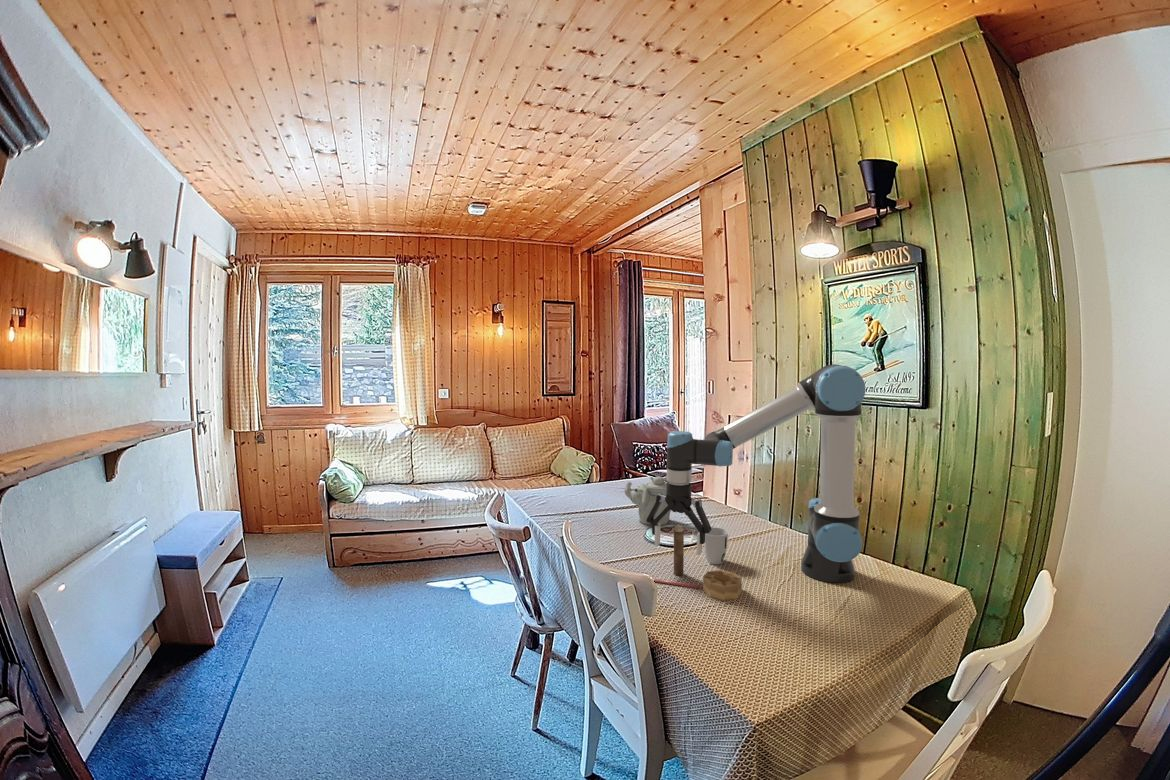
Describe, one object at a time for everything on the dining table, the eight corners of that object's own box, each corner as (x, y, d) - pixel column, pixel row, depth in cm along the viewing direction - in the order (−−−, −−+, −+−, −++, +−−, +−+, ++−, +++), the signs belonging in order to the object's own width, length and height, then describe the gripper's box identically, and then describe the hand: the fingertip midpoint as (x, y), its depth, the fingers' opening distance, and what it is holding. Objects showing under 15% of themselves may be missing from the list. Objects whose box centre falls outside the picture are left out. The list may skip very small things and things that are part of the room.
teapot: (623, 519, 216) (622, 474, 215) (649, 512, 226) (649, 468, 224) (651, 530, 203) (651, 482, 202) (678, 522, 212) (678, 476, 211)
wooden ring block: (743, 588, 155) (744, 574, 155) (735, 602, 147) (735, 588, 146) (710, 580, 160) (710, 568, 160) (699, 594, 152) (699, 581, 151)
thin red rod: (700, 587, 156) (700, 585, 156) (700, 589, 155) (700, 586, 155) (652, 580, 161) (652, 578, 160) (651, 582, 160) (651, 579, 160)
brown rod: (684, 573, 166) (685, 524, 164) (681, 576, 163) (681, 527, 162) (675, 571, 167) (675, 523, 166) (672, 574, 165) (672, 526, 163)
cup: (728, 567, 170) (728, 536, 169) (702, 565, 171) (702, 535, 171) (726, 557, 178) (727, 528, 177) (702, 555, 179) (702, 526, 178)
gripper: (722, 484, 160) (721, 553, 162) (646, 474, 172) (645, 538, 174) (715, 490, 153) (714, 561, 155) (636, 479, 166) (635, 545, 167)
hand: (677, 549), depth 165 cm, fingers open, 13 cm apart
